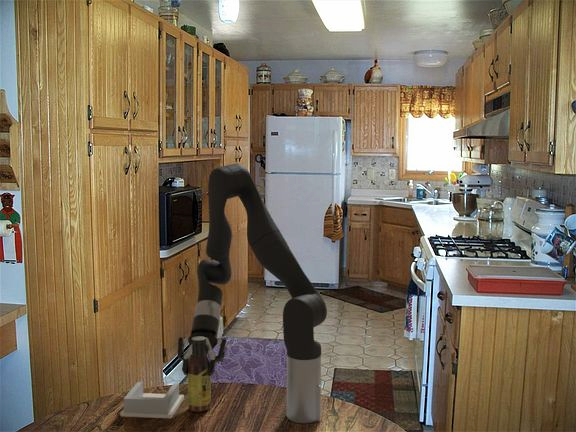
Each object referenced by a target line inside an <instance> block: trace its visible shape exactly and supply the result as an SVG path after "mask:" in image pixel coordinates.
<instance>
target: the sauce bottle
mask: <svg viewBox="0 0 576 432" xmlns="http://www.w3.org/2000/svg"><path fill="white" fill-rule="evenodd" d="M191 343H192V356H191V358H190V359H189V362H188V375H187V404H188V409H189V410H190V411H191V412H194V413H195V412H196V413H200V412H201V413H202V412H205V411H207V410H209V409H210V408H211V402H212V401H211V399H212V397H211V396H212V395H211V393H212V389H211V381H212V380H211V377H212V376H209V375H208V369H209V362H210V360H209V358H208V355H207V354H206V338H205V337H203V336H197V337H193V338H192V339H191Z"/></svg>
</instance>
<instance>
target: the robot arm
mask: <svg viewBox="0 0 576 432" xmlns="http://www.w3.org/2000/svg"><path fill="white" fill-rule="evenodd" d="M207 186H208V187H207V189H208V190H207V193H208V218H209V220H208V224H209V225H208V234H207V240H206V248H205V253H206V256H208V258H209V259H207V258H206V259H202V260H200V262H199V263H198V264H197V269H196V275H197V281H198V297H197V301H196V306H195V309H194V313H193V314H194V315H193V320H192V326H191V330H190V334H189V337H188V338H183V337H178V340H177V357H178V360H179V361H182V366H181V371H182V374H183V375H184V376H188V362H189V359H190V358H191V356H192V343H191V339H192V338H193V337H197V336H203V337H205V338H206V355H207V354H208V355H209V358H210V360H209V369H208V375H209V376H211V377H212V376H213V375H214V374H215V371H216V365H217V363H222V362H223V361H224V358H225V355H226V350H227V348H228V341H227V339H226V338H222V339H220V338H219V339H218V334H219V333H218V332H219V327H220V321H221V306H222V301H223V291H222V289H221V288H220V287H219V286H216V285H222V286H223V285H226V284H228V283H229V282H230V280H231V279H232V272H233V271H232V266H231V262H230V261H231V260H230V259H231V258H230V251H231V244H232V239H233V238H232V237H233V233H232V232H233V231H232V227H231V224H230V222H229V220H228V219H227V216H226V212H225V211H226V209H225V207H226V204H227V200H229V199H233V198H236V197H237V198H239V200H240V201H241V202H242V205H243V207H244V209H245V212H246V217H247V218H246V219H247V220H246V221H247V222H246V223H247V224H246V239H247V243H248V245H249V247H250V249H251V250H252V252H253V254H254V255H255V258H256V260H257V261H258V262H259V263H260V265H261V266H262V267H263V268H264V269H265V270H266V271H267V272H268V273H270V274H271V275H272V276H274V277H275V278H276V279H277V280H279V282H281V284H282V285H283V286H284V287H285V289H286V290H287V292H288V293H289V295H290V297H291V298H290V299H289V300H287V301H286V303H285V305H284V307H283V312H282V332H283V335H282V337H283V344H284V346H285V348H286V399H285V401H286V403H285V404H286V407H285V408H286V413H285V414H286V418H287V419H288V420H289V421H291V422H293V423H296V424H312V423H315V422H321V419H322V417H321V414H322V345H321V343H320V342H319V341H317V340H315V334H314V333H315V331H314V328H316V327H317V326H319V325H321V324H322V323H324V322H325V320H327V319H326V318H327V314H328V309H327V305H326V303H325V300H324V298H323V297H322V296H321V294H320V293H319V291H318V290H317V289H316V287H315V285H314V284H313V283H312V282H311V280H310V279H309V278H308V276H307V275H306V273H305V272H304V271H303V268H302V267H301V265H300V264H299V262H298V260H297V258H296V257H295V255H294V254H293V251H292V250H291V248H290V247H289V245H288V242H287V241H286V239H285V237H284V236H283V234H282V232H281V230H280V229H279V227H278V226H277V224H276V223H275V221H274V219H273V217H272V215H271V214H270V212H269V210H268V208H267V206H266V205H265V202H264V200H263V199H262V196H261V193H260V192H259V190H258V186H257V185H256V183H255V181H254V178H253V176H252V175H251V173H250V171H249V170H248V169H247V168H246V166H244V165H243V164H242V163H232V164H227V165H223V166H222V165H221V166H218V167H215V168H213V169H212V170H211V171H210V174H209V176H208V183H207ZM215 284H216V285H215ZM188 344H189V347H188V349H187V351H186V352H185V347H187V345H188ZM217 345H218V347H219V349H218V353H217V355H215V354H214V351H213V349H214V348H215V347H216V346H217Z"/></svg>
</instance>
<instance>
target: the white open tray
mask: <svg viewBox="0 0 576 432" xmlns="http://www.w3.org/2000/svg"><path fill="white" fill-rule="evenodd" d="M184 399H185V395H184V394H180V383H177V382H173V384H172V385H171V386H170V387H169V390H167V393H149V392H148V393H147V392H144V382H143V381H137V382H136V383H135V385H134V386H133V387H132V388H131V389H130V390H129V392H128V393H127V394H126V396H124V397H123V409H122V410H121V411H120V417H128V418H153V419H154V418H156V419H173V416H174V415H175V414H176V413H177V410H178V409H179V407H180V405H181V403H182V402H183V401H184Z"/></svg>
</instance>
